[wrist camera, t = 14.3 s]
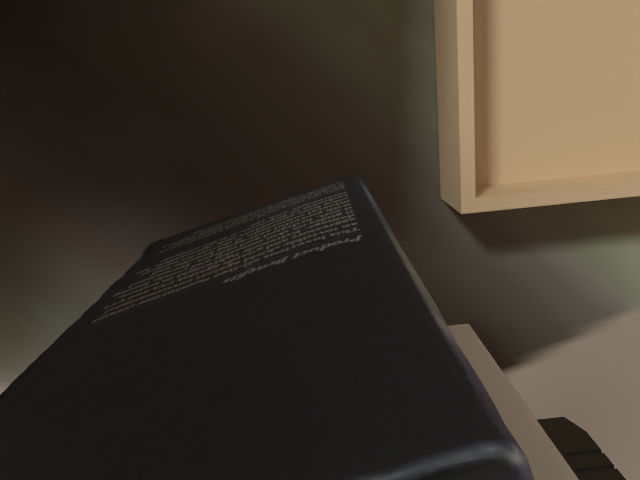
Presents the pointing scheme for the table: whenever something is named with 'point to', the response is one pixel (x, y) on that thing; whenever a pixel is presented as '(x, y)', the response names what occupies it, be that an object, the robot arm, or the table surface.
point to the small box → (261, 363)
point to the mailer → (537, 102)
